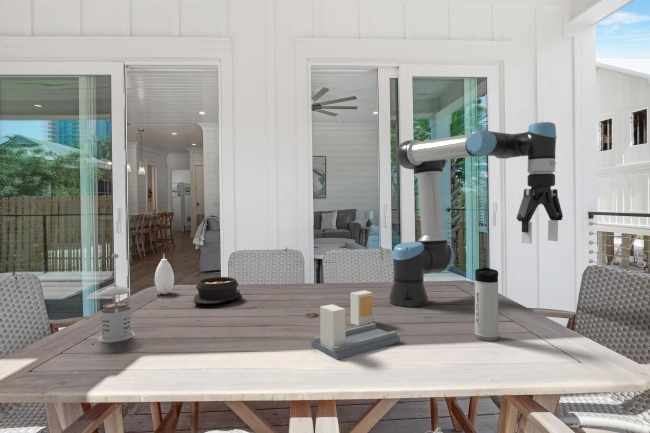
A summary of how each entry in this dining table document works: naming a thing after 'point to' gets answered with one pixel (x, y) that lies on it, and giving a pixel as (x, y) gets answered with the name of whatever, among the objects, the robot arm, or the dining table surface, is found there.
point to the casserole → (216, 290)
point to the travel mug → (486, 304)
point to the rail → (348, 335)
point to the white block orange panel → (361, 308)
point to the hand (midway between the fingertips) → (540, 242)
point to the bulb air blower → (164, 277)
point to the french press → (116, 315)
